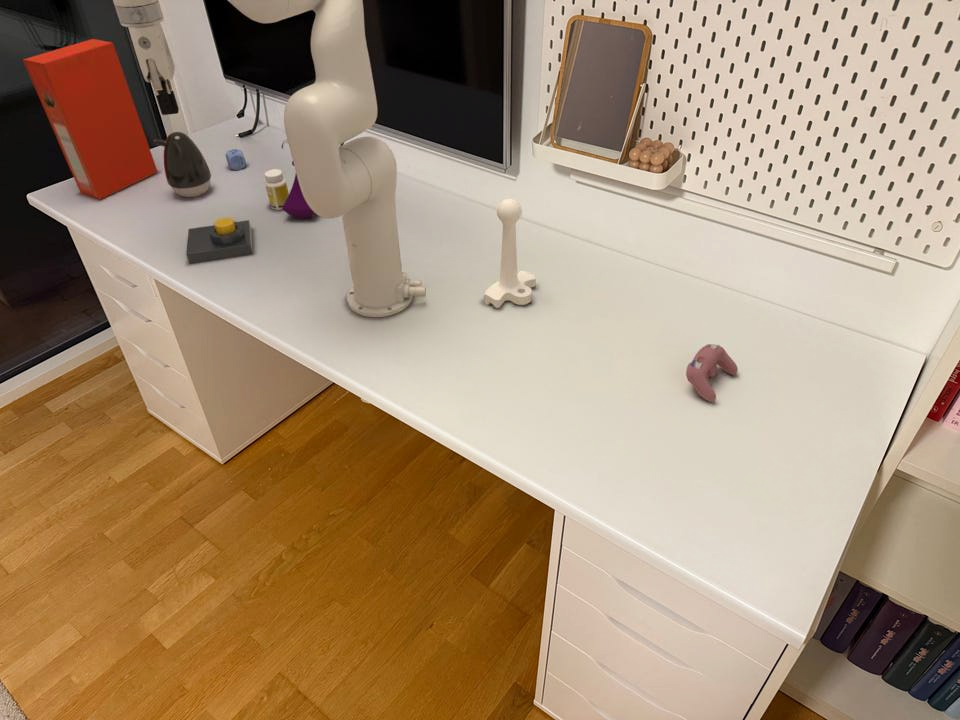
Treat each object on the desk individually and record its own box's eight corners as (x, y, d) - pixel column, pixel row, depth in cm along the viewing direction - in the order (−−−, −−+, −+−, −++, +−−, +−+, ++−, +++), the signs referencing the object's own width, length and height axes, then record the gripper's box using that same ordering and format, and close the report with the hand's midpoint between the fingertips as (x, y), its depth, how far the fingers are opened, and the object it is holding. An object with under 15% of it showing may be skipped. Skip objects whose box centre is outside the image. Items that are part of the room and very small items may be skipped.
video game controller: (715, 371, 119) (705, 335, 116) (740, 372, 115) (730, 335, 113) (689, 402, 113) (677, 366, 110) (715, 404, 110) (704, 366, 107)
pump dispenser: (169, 188, 173) (149, 129, 163) (211, 180, 176) (194, 121, 167) (173, 205, 166) (153, 144, 156) (218, 196, 169) (200, 136, 159)
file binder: (79, 193, 172) (22, 58, 152) (137, 166, 183) (91, 38, 163) (100, 200, 169) (44, 64, 148) (158, 173, 180) (113, 42, 160)
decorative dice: (231, 171, 180) (227, 156, 178) (228, 165, 183) (224, 151, 180) (247, 167, 182) (243, 153, 179) (243, 162, 184) (239, 147, 182)
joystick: (519, 277, 139) (521, 185, 126) (548, 292, 135) (552, 199, 122) (480, 300, 134) (478, 206, 121) (508, 317, 129) (509, 221, 116)
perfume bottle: (325, 207, 164) (311, 133, 152) (316, 222, 158) (301, 147, 147) (294, 206, 165) (278, 132, 153) (284, 221, 159) (267, 146, 147)
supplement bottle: (293, 201, 167) (286, 168, 161) (287, 210, 163) (280, 177, 158) (274, 200, 167) (266, 168, 162) (267, 210, 163) (259, 176, 158)
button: (235, 224, 150) (233, 216, 149) (236, 233, 147) (233, 225, 146) (216, 227, 149) (214, 219, 148) (216, 236, 146) (214, 228, 145)
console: (251, 229, 156) (246, 211, 153) (252, 254, 148) (248, 236, 145) (191, 238, 154) (185, 220, 151) (189, 264, 146) (183, 245, 143)
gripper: (158, 21, 122) (188, 124, 134) (164, 1, 133) (191, 98, 145) (113, 25, 120) (147, 129, 132) (122, 5, 131) (153, 102, 143)
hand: (170, 112), depth 138 cm, fingers closed
